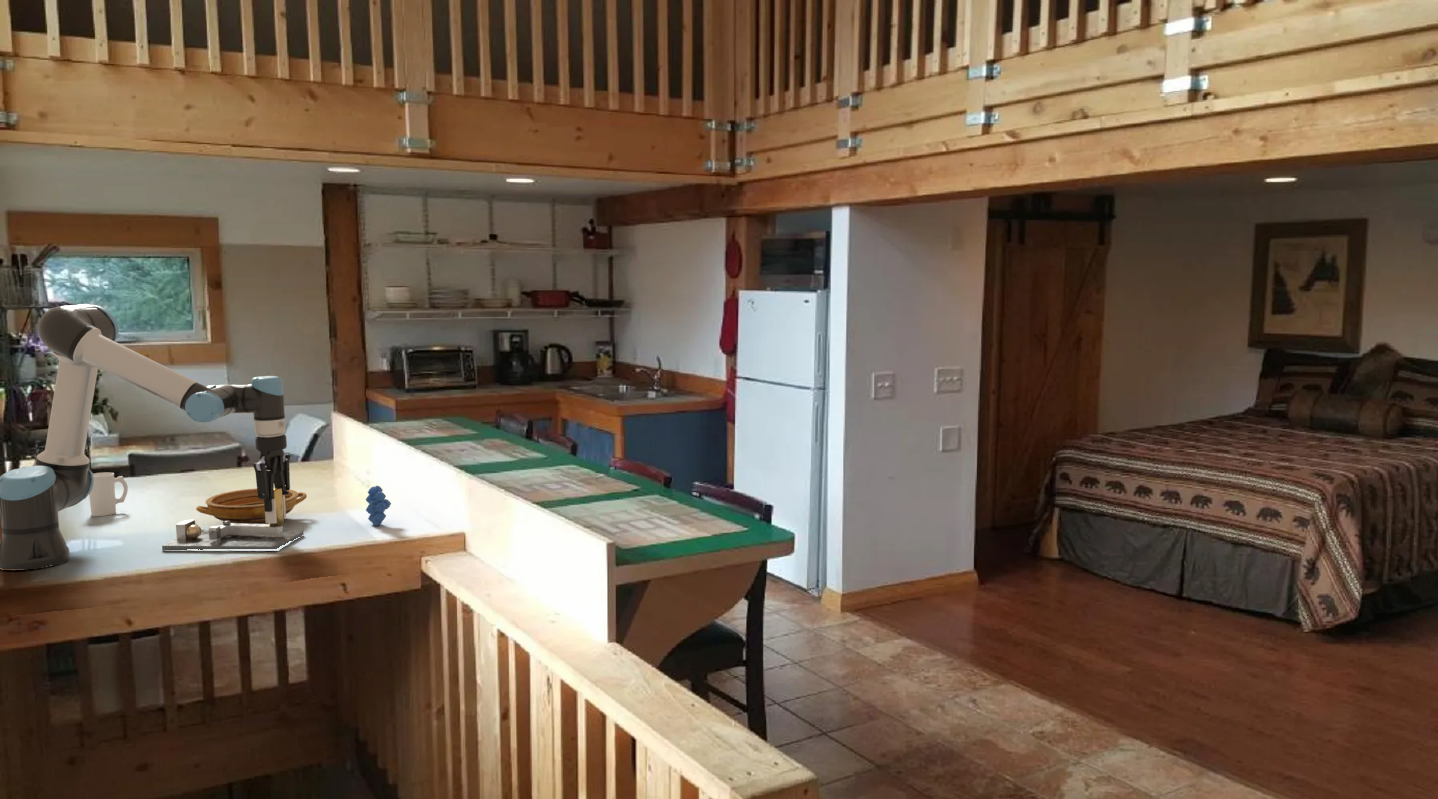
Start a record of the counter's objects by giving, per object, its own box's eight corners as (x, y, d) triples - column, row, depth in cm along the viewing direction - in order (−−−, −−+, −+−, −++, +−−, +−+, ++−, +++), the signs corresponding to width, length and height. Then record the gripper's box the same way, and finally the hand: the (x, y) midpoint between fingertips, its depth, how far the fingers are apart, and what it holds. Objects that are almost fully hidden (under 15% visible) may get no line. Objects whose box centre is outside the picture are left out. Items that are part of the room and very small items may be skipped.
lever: (270, 541, 259) (267, 494, 257) (209, 539, 260) (206, 493, 258) (286, 533, 267) (284, 487, 265) (227, 531, 268) (224, 486, 267)
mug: (91, 517, 291) (88, 477, 290) (88, 513, 297) (85, 474, 295) (131, 512, 298) (128, 473, 296) (127, 508, 303) (124, 470, 301)
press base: (277, 552, 257) (275, 531, 256) (162, 551, 257) (161, 530, 256) (303, 535, 272) (302, 516, 272) (195, 535, 273) (194, 515, 272)
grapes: (399, 527, 282) (397, 486, 280) (375, 531, 277) (373, 489, 276) (385, 519, 291) (383, 479, 289) (361, 523, 287) (360, 482, 285)
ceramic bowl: (208, 541, 267) (206, 512, 266) (187, 523, 285) (186, 496, 284) (320, 523, 286) (319, 496, 285) (294, 508, 304) (293, 482, 303)
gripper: (265, 440, 253) (270, 529, 256) (301, 429, 269) (306, 513, 272) (238, 439, 254) (244, 528, 257) (275, 429, 270) (280, 512, 273)
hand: (276, 520), depth 265 cm, fingers closed on lever, 4 cm apart
